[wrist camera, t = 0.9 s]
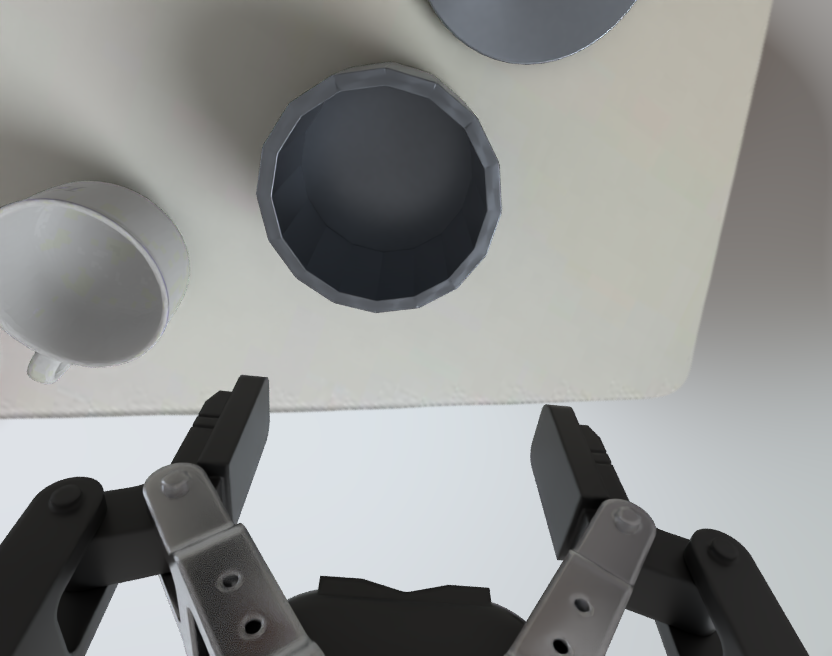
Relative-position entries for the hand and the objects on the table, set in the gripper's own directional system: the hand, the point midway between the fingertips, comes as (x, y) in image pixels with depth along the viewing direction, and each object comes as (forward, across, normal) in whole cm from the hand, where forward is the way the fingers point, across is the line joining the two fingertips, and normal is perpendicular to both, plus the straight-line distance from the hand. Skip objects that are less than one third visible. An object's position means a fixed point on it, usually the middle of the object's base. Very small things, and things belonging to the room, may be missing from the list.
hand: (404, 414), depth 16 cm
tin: (+24, +2, -2) cm, 24 cm away
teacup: (+24, +20, +7) cm, 32 cm away
